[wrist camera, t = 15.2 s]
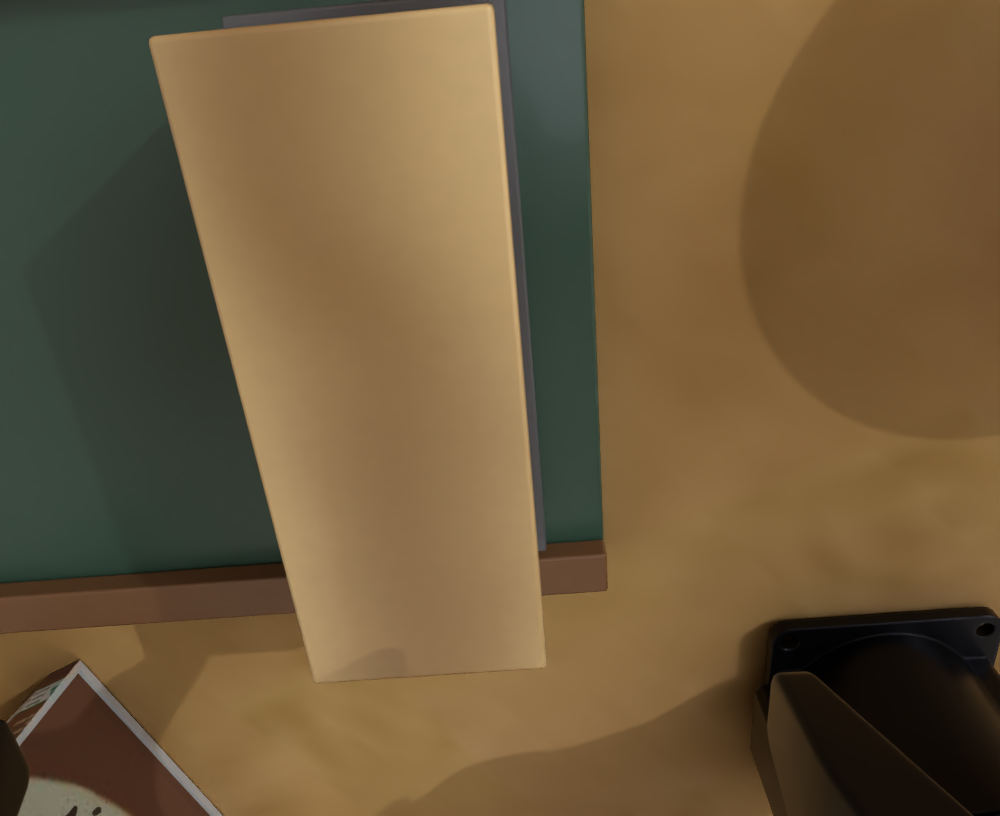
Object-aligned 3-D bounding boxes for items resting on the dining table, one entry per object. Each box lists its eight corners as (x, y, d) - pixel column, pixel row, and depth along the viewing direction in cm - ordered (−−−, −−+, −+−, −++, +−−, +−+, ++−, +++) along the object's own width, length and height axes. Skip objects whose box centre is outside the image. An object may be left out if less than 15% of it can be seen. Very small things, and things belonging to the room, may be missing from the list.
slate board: (574, -135, 15) (583, -150, 14) (600, 552, 22) (608, 592, 21) (-535, -21, 16) (-644, -23, 14) (-165, 607, 23) (-212, 649, 22)
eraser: (504, -11, 15) (507, -17, 10) (543, 516, 21) (557, 677, 16) (243, 15, 15) (124, 21, 10) (350, 530, 21) (304, 693, 16)
